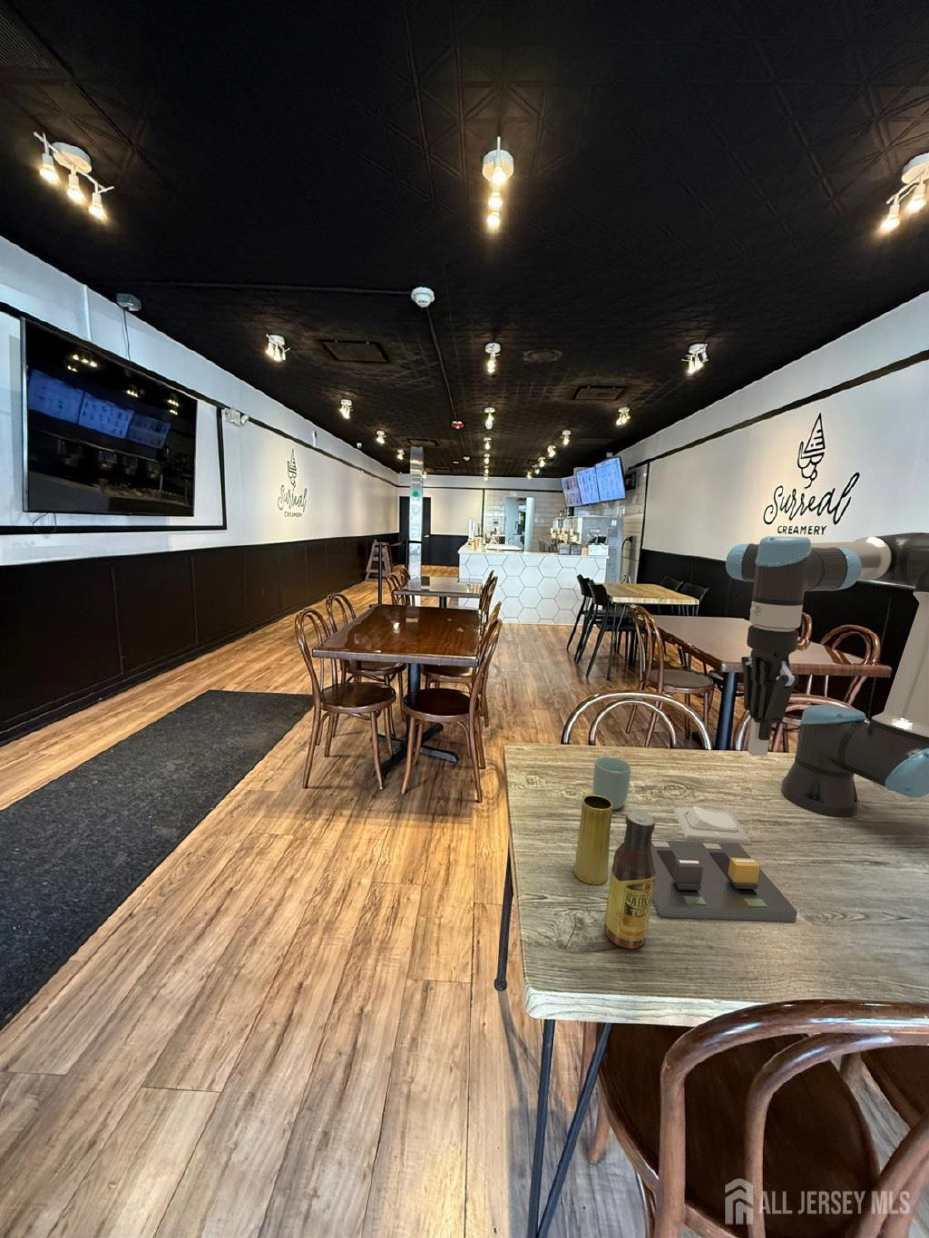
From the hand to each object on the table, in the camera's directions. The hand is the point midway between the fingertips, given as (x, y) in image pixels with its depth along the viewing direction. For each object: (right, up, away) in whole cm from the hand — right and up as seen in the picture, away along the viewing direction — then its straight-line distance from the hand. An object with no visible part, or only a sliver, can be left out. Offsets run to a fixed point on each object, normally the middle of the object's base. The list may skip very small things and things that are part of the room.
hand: (757, 753), depth 92 cm
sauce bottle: (-28, -25, -14) cm, 40 cm away
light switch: (0, -21, +17) cm, 27 cm away
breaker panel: (-10, -23, -1) cm, 25 cm away
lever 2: (-5, -21, -4) cm, 22 cm away
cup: (-20, -18, +24) cm, 36 cm away
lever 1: (-15, -21, -5) cm, 26 cm away
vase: (-30, -22, 0) cm, 37 cm away
